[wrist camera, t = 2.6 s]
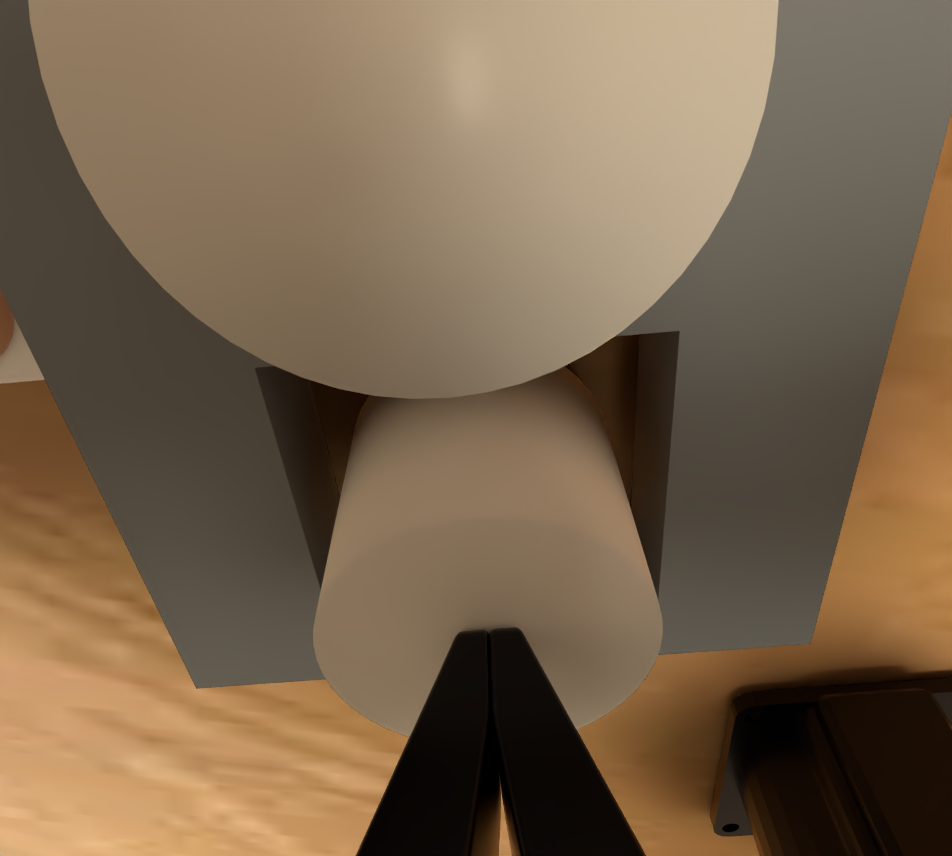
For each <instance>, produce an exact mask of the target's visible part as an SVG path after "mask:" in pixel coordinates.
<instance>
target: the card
mask: <svg viewBox="0 0 952 856" xmlns="http://www.w3.org/2000/svg"><path fill="white" fill-rule="evenodd" d="M38 380H45V379H44V377H43V375H42V373H41V371H40V369H39V367H38V365H37V363H36V361H35V359H34V357H33V355H32V353H31V351H30V349H29V347H28V345H27V342H26V340H25V338H24V336H23V334H22V332H21V330H20V328H19V326H18V324H17V322H16V320H15V318H14V316H13V314H12V312H11V310H10V308H9V306H8V304H7V302H6V300H5V298H4V296H3V294H2V292H1V290H0V384H3V383H15V382H26V381H38Z"/></svg>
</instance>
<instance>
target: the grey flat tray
mask: <svg viewBox="0 0 952 856" xmlns="http://www.w3.org/2000/svg"><path fill="white" fill-rule="evenodd" d="M778 2H779V3H778V17H777V31H776V45H775V58H774V63H773V68H772V74H771V79H770V84H769V89H768V95H767V100H766V105H765V110H764V113H763V116H762V120H761V123H760V126H759V129H758V132H757V136H756V139H755V142H754V145H753V148H752V152H751V155H750V158H749V160H748V162H747V164H746V167H745V169H744V171H743V174H742V176H741V178H740V180H739V183H738V185H737V187H736V189H735V192H734V194H733V196H732V199H731V201H730V202H729V204H728V206H727V207H726V209H725V211H724V213H723V214H722V216H721V218H720V220H719V221H718V223H717V225H716V226H715V228H714V230H713V232H712V233H711V235H710V237H709V238H708V240H707V241H706V243H705V244H704V245H703V247H702V248H701V249H700V251H699V252H698V253H697V255H696V256H695V257H694V259H693V260H692V261H691V263H690V264H689V265H688V267H687V268H686V269H685V271H684V272H683V274H682V275H681V276H680V277H679V278H678V279H677V280H676V281H675V282H674V283H673V284H672V285H671V286H670V288H669V289H668V290H667V291H666V292H665V293H664V294H663V295H662V296H661V297H660V298H659V299H658V300H657V301H656V302H655V304H654V305H652V306H651V307H650V308H649V309H648V310H647V311H645V312H644V313H643V314H642V315H641V316H640V317H638V318H637V319H636V320H635V321H634V322H632V323H631V324H630V325H629V326H628V327H627V328H625V329H624V330H623V331H622V332H620V333H619V334H617V335H616V336H625V335H636V334H639V345H638V367H637V389H636V412H635V434H634V457H633V479H632V501H631V512H632V515H633V518H634V522H635V525H636V528H637V532H638V535H639V538H640V542H641V545H642V548H643V552H644V555H645V558H646V562H647V565H648V568H649V572H650V575H651V578H652V582H653V585H654V588H655V592H656V595H657V598H658V602H659V605H660V610H661V614H662V619H663V636H662V641H661V647H660V651H659V653H658V655H664V654H678V653H692V652H705V651H719V650H733V649H747V648H760V647H774V646H788V645H802V644H811V640H812V637H813V633H814V629H815V625H816V622H817V618H818V614H819V610H820V606H821V603H822V599H823V595H824V591H825V588H826V584H827V580H828V576H829V573H830V569H831V565H832V561H833V557H834V554H835V550H836V546H837V542H838V539H839V535H840V531H841V527H842V523H843V520H844V516H845V512H846V508H847V505H848V501H849V497H850V493H851V490H852V486H853V482H854V478H855V474H856V471H857V467H858V463H859V459H860V456H861V452H862V448H863V444H864V441H865V437H866V433H867V429H868V425H869V422H870V418H871V414H872V410H873V407H874V403H875V399H876V395H877V391H878V388H879V384H880V380H881V376H882V373H883V369H884V365H885V361H886V358H887V354H888V350H889V346H890V342H891V339H892V335H893V331H894V327H895V324H896V320H897V316H898V312H899V309H900V305H901V301H902V297H903V293H904V290H905V286H906V282H907V278H908V275H909V271H910V267H911V263H912V259H913V256H914V252H915V248H916V244H917V241H918V237H919V233H920V229H921V226H922V222H923V218H924V214H925V210H926V207H927V203H928V199H929V195H930V192H931V188H932V184H933V180H934V177H935V173H936V169H937V165H938V161H939V158H940V154H941V150H942V146H943V143H944V139H945V135H946V131H947V127H948V124H949V120H950V116H951V112H952V0H778ZM0 290H1V292H2V294H3V296H4V298H5V300H6V302H7V304H8V306H9V308H10V310H11V312H12V314H13V316H14V318H15V320H16V322H17V324H18V326H19V328H20V330H21V332H22V334H23V336H24V338H25V340H26V342H27V345H28V347H29V349H30V351H31V353H32V355H33V357H34V359H35V361H36V363H37V365H38V367H39V369H40V371H41V373H42V375H43V377H44V379H45V381H46V383H47V385H48V387H49V389H50V391H51V393H52V395H53V397H54V400H55V402H56V404H57V406H58V408H59V410H60V412H61V414H62V416H63V418H64V420H65V422H66V424H67V426H68V428H69V430H70V432H71V434H72V436H73V438H74V440H75V442H76V444H77V446H78V448H79V450H80V452H81V454H82V457H83V459H84V461H85V463H86V465H87V467H88V469H89V471H90V473H91V475H92V477H93V479H94V481H95V483H96V485H97V487H98V489H99V491H100V493H101V495H102V497H103V499H104V501H105V503H106V505H107V507H108V509H109V512H110V514H111V516H112V518H113V520H114V522H115V524H116V526H117V528H118V530H119V532H120V534H121V536H122V538H123V540H124V542H125V544H126V546H127V548H128V550H129V552H130V554H131V556H132V558H133V560H134V562H135V564H136V567H137V569H138V571H139V573H140V575H141V577H142V579H143V581H144V583H145V585H146V587H147V589H148V591H149V593H150V595H151V597H152V599H153V601H154V603H155V605H156V607H157V609H158V611H159V613H160V615H161V617H162V619H163V622H164V624H165V626H166V628H167V630H168V632H169V634H170V636H171V638H172V640H173V642H174V644H175V646H176V648H177V650H178V652H179V654H180V656H181V658H182V660H183V662H184V664H185V666H186V668H187V670H188V672H189V674H190V677H191V679H192V681H193V683H194V685H195V687H196V689H197V688H211V687H225V686H239V685H252V684H266V683H280V682H294V681H307V680H321V679H326V678H325V677H324V675H323V673H322V671H321V669H320V667H319V664H318V662H317V659H316V655H315V650H314V646H313V627H314V622H315V616H316V611H317V606H318V601H319V597H320V592H321V587H322V582H323V577H324V573H325V568H326V563H327V558H328V554H329V549H330V544H331V539H332V534H333V530H334V525H335V520H336V515H337V510H338V506H339V501H340V498H339V494H338V490H337V486H336V482H335V478H334V474H333V470H332V466H331V462H330V458H329V454H328V450H327V446H326V442H325V438H324V434H323V430H322V426H321V422H320V418H319V414H318V410H317V406H316V402H315V398H314V394H313V390H312V386H311V382H310V380H308V379H305V378H302V377H300V376H297V375H295V374H293V373H290V372H288V371H286V370H283V369H281V368H279V367H276V366H274V365H272V364H269V363H267V362H265V361H263V360H261V359H260V358H258V357H256V356H254V355H253V354H251V353H249V352H247V351H245V350H244V349H242V348H240V347H238V346H237V345H235V344H233V343H231V342H230V341H228V340H227V339H225V338H224V337H223V336H221V335H220V334H218V333H217V332H216V331H214V330H213V329H211V328H210V327H209V326H207V325H206V324H204V323H203V322H202V321H200V320H199V319H197V318H196V317H195V316H194V315H193V314H191V313H190V312H189V311H188V310H187V309H186V308H185V307H184V306H182V305H181V304H180V303H179V302H178V301H177V300H176V299H174V298H173V297H172V296H171V295H170V294H169V293H168V292H167V291H165V290H164V289H163V288H162V287H161V286H160V285H159V283H158V282H157V281H156V280H155V279H154V278H153V277H152V276H151V275H150V274H149V273H148V271H147V270H146V269H145V268H144V267H143V266H142V265H141V264H140V263H139V262H138V261H137V259H136V258H135V257H134V256H133V255H132V254H131V252H130V251H129V250H128V248H127V247H126V246H125V244H124V243H123V242H122V240H121V239H120V238H119V236H118V235H117V234H116V232H115V231H114V229H113V228H112V227H111V225H110V224H109V223H108V221H107V220H106V219H105V217H104V216H103V214H102V212H101V211H100V209H99V207H98V205H97V204H96V202H95V200H94V199H93V197H92V195H91V194H90V192H89V190H88V189H87V187H86V185H85V183H84V182H83V180H82V178H81V177H80V175H79V173H78V171H77V168H76V166H75V164H74V162H73V160H72V157H71V155H70V153H69V151H68V149H67V146H66V144H65V142H64V140H63V137H62V135H61V133H60V131H59V129H58V126H57V123H56V120H55V117H54V114H53V111H52V108H51V105H50V101H49V98H48V95H47V92H46V89H45V86H44V83H43V80H42V77H41V72H40V67H39V63H38V58H37V53H36V48H35V43H34V38H33V33H32V29H31V24H30V14H29V3H28V0H0Z"/></svg>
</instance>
